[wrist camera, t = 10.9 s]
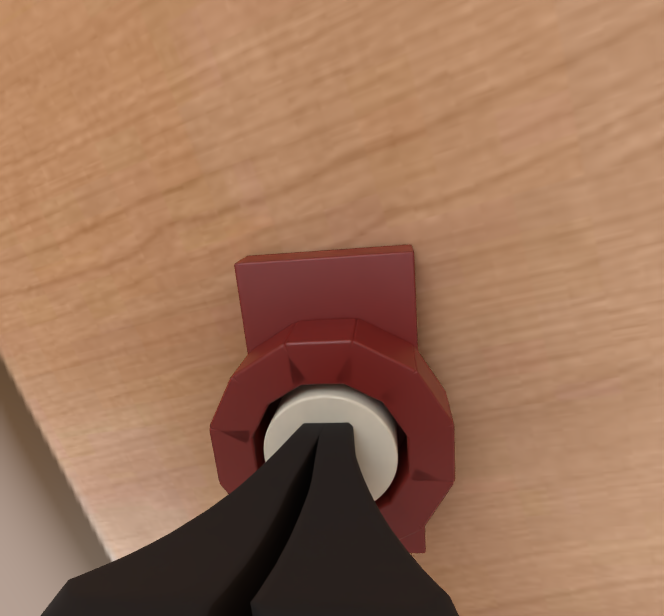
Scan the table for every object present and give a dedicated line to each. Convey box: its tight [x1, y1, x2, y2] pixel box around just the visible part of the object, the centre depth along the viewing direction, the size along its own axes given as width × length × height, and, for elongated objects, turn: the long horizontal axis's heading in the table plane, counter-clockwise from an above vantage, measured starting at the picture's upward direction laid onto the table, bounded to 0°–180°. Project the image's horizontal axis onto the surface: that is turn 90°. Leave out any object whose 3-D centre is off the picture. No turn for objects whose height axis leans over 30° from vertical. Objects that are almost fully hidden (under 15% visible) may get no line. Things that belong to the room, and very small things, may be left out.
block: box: [210, 245, 455, 553], centre depth 14 cm, size 10×6×3 cm, turn 5°
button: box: [264, 384, 398, 501], centre depth 13 cm, size 4×4×2 cm
